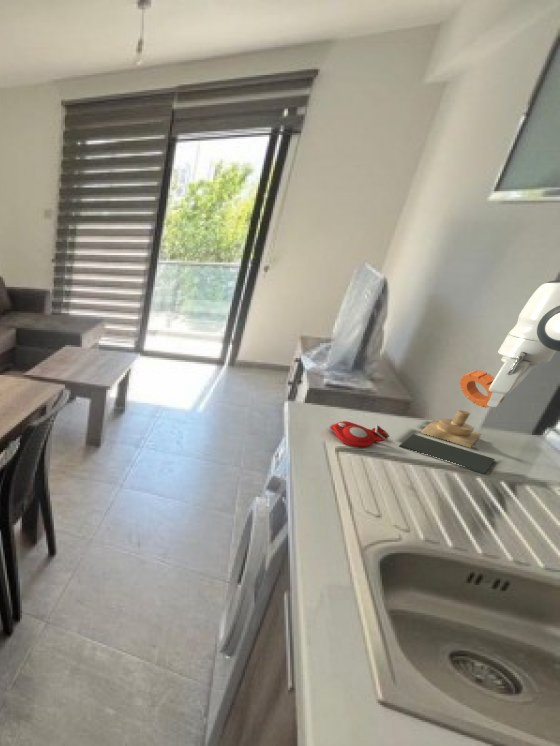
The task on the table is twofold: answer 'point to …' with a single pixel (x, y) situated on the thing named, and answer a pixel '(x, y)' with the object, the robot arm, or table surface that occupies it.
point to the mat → (448, 453)
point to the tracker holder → (358, 434)
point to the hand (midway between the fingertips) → (494, 403)
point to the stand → (454, 430)
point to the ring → (471, 389)
